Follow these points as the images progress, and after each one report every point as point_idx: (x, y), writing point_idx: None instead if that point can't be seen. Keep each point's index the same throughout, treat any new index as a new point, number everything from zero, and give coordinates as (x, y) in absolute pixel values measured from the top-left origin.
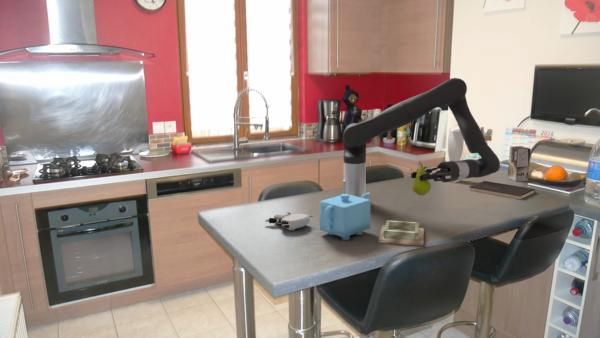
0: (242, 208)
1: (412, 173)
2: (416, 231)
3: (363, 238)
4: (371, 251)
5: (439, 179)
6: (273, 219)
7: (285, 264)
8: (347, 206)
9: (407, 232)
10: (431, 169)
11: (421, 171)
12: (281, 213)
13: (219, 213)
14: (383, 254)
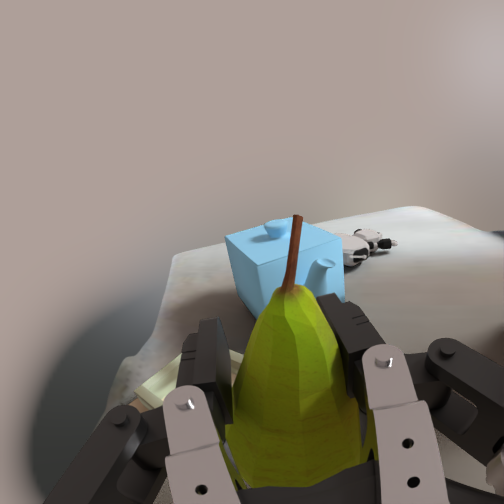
0: (440, 220)
1: (317, 301)
2: (145, 392)
3: (244, 331)
4: (177, 327)
5: (126, 481)
6: (354, 232)
7: (208, 257)
8: (229, 238)
9: (156, 373)
10: (378, 492)
11: (257, 324)
12: (370, 231)
13: (413, 212)
14: (154, 337)
